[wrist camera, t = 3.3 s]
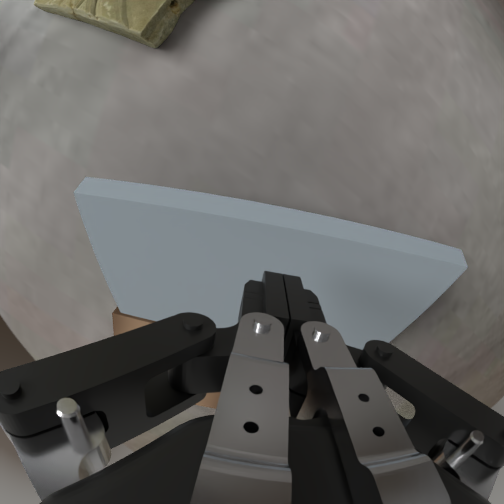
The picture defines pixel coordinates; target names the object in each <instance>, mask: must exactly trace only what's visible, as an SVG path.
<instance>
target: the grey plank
mask: <svg viewBox="0 0 504 504" xmlns="http://www.w3.org/2000/svg"><path fill="white" fill-rule="evenodd" d="M74 196H75V199H76V202H77V205H78V208H79V211H80V214H81V217H82V220H83V223H84V226H85V229H86V231H87V234H88V237H89V240H90V242H91V245H92V248H93V250H94V253H95V255H96V258H97V260H98V263H99V265H100V268H101V270H102V272H103V275H104V277H105V279H106V282H107V284H108V286H109V288H110V291H111V293H112V295H113V297H114V299H115V302H116V304H117V306H118V308H119V310H120V312H121V313H124V314H128V315H132V316H136V317H140V318H144V319H148V320H152V321H159V320H162V319H165V318H168V317H171V316H174V315H176V314H179V313H184V312H193V313H199V314H202V315H205V316H207V317H209V318H210V319H211V320H213V322H214V323H215V324H216V328H226V327H231V326H234V325H236V324H237V323H238V316H239V311H240V305H241V300H242V295H243V290H244V285H245V284H246V283H247V282H248V281H249V280H255V281H261V282H262V277H263V273H264V271H270V272H276V273H281V274H287V275H293V276H298V277H300V278H301V281H302V284H303V288H304V289H308V290H311V291H312V292H313V293H314V294H315V295H316V296H317V297H318V300H319V303H320V306H321V308H322V311H323V314H324V317H325V320H326V323H327V324H329V325H331V326H332V327H334V328H335V329H337V330H338V331H339V333H340V334H341V336H342V338H343V340H344V342H345V344H346V345H348V346H351V347H355V348H358V349H361V350H363V348H364V346H365V344H366V343H367V342H368V341H370V340H381V341H384V342H387V343H389V342H390V341H391V340H393V339H394V338H395V337H396V336H397V335H398V334H400V333H401V332H402V331H403V330H404V329H405V328H407V327H408V326H409V325H410V324H411V323H412V322H413V321H414V320H415V319H417V318H418V317H419V316H420V315H421V314H422V313H423V312H424V311H425V310H426V309H427V308H428V307H430V306H431V305H432V304H433V303H434V302H435V301H436V300H437V299H438V298H439V297H440V296H441V295H442V294H443V293H444V292H445V291H446V290H447V289H448V288H449V287H450V286H451V285H452V284H453V283H454V282H455V281H456V280H457V278H458V277H459V276H460V275H461V274H462V273H463V272H464V271H465V270H466V269H467V268H468V266H467V263H466V261H465V258H464V255H463V253H462V250H461V249H458V248H455V247H451V246H447V245H444V244H440V243H436V242H433V241H429V240H425V239H421V238H418V237H414V236H410V235H406V234H402V233H398V232H394V231H390V230H386V229H382V228H377V227H373V226H369V225H365V224H360V223H356V222H352V221H347V220H343V219H338V218H334V217H329V216H324V215H320V214H315V213H310V212H305V211H301V210H296V209H291V208H286V207H280V206H275V205H270V204H265V203H259V202H254V201H249V200H243V199H237V198H232V197H226V196H220V195H214V194H208V193H202V192H196V191H189V190H183V189H176V188H169V187H163V186H156V185H148V184H141V183H134V182H126V181H118V180H109V179H101V178H92V177H85V179H84V180H83V181H82V182H81V184H80V185H79V186H78V188H77V189H76V190H75V191H74Z"/></svg>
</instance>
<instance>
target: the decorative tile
mask: <svg viewBox="0 0 504 504" xmlns="http://www.w3.org/2000/svg"><path fill="white" fill-rule="evenodd" d="M194 1H195V0H35V2H34V5H35V6H36V7H38V8H40V9H42V10H43V11H46V12H50V13H53V14H58V15H61V16H64V17H68V18H71V19H75V20H78V21H83V22H86V23H89V24H91V25H94V26H97V27H99V28H102V29H104V30H108V31H111V32H114V33H117V34H119V35H122V36H125V37H127V38H129V39H132V40H135V41H137V42H140V43H142V44H145V45H147V46H149V47H152V48H157V47H158V46H159V45H161V44H162V43H163V42H164V40H166V39H167V37H168V36H169V35H170V34H171V32H172V31H173V29H174V27H175V25H176V23H177V21H178V19H179V17H180V15H181V13H182V12H183V11H185V9H186V8H187V7H188V6H190V5H191V4H192V3H193V2H194Z"/></svg>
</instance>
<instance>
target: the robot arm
mask: <svg viewBox="0 0 504 504" xmlns="http://www.w3.org/2000/svg"><path fill="white" fill-rule="evenodd" d="M163 372H164V373H163ZM387 386H388V387H389V388H391V389H392V390H393V391H395V392H396V393H398V394H399V395H401V396H402V397H403V398H405V399H406V400H408V401H409V402H411V403H412V404H413V405H414V407H415V411H416V412H415V416H414V417H413V419H405V418H403V417H402V416H401V415H399V414H398V413H397V412H396V410H395V408H394V406H393V404H392V402H391V400H390V399H389V397H388V395H387V393H386V391H385V389H386V387H387ZM215 392H221V393H220V396H219V400H218V404H217V408H216V412H215V415H208V416H203V417H199V418H195V419H192V420H189V421H187V422H185V423H183V424H181V425H179V426H177V427H175V428H174V429H172V430H171V431H169V432H167V433H166V434H164V435H162V436H161V437H159V438H157V439H156V440H154V441H152V442H151V443H149V444H147V445H146V446H144V447H142V448H141V449H139V450H137V451H135V452H134V453H132V454H130V455H128V456H126V457H125V458H123V459H121V460H119V461H117V462H116V463H114V464H112V465H110V466H108V467H106V468H104V467H105V466H106V465H107V464H108V463H109V461H110V457H111V449H112V448H113V447H116V446H118V445H120V444H122V443H124V442H126V441H128V440H130V439H132V438H134V437H136V436H138V435H140V434H142V433H144V432H146V431H148V430H150V429H152V428H153V427H155V426H157V425H159V424H161V423H163V422H165V421H166V420H168V419H170V418H172V417H174V416H175V415H177V414H179V413H181V412H183V411H184V410H186V409H188V408H189V407H191V406H193V405H195V404H196V403H198V402H200V401H201V400H203V399H204V398H205V396H206V394H207V393H215ZM0 425H1V427H2V428H3V430H4V432H5V433H6V435H7V436H8V438H9V439H10V441H11V442H12V444H13V445H14V447H15V449H16V451H17V453H18V456H19V458H20V460H21V462H22V464H23V467H24V469H25V471H26V473H27V474H28V477H29V479H30V481H31V482H32V485H33V486H34V488H35V490H36V492H37V494H38V496H39V497H40V499H41V501H42V502H41V503H40V504H491V503H490V502H489V501H488V498H489V496H490V494H491V491H492V489H493V486H494V483H495V481H496V478H497V475H498V472H499V470H500V469H501V468H502V467H503V466H504V417H503V416H501V415H500V414H499V413H497V412H495V411H494V410H492V409H491V408H489V407H488V406H486V405H485V404H483V403H481V402H480V401H478V400H477V399H475V398H474V397H472V396H471V395H469V394H467V393H466V392H464V391H463V390H461V389H460V388H458V387H457V386H455V385H453V384H452V383H450V382H449V381H447V380H446V379H444V378H443V377H441V376H439V375H438V374H436V373H435V372H433V371H432V370H430V369H429V368H427V367H425V366H424V365H422V364H421V363H419V362H418V361H416V360H415V359H413V358H411V357H410V356H408V355H407V354H405V353H404V352H402V351H401V350H399V349H398V348H396V347H394V346H393V345H391V344H389V343H387V342H384V341H381V340H370V341H368V342H367V343H366V344H365V346H364V348H363V350H361V349H358V348H355V347H351V346H348V345H346V344H345V342H344V340H343V338H342V336H341V334H340V333H339V331H338V330H337V329H335V328H334V327H332V326H331V325H329V324H327V323H326V320H325V317H324V314H323V311H322V308H321V306H320V303H319V300H318V297H317V296H316V295H315V294H314V293H313V292H312V291H311V290H308V289H304V288H303V284H302V281H301V278H300V277H298V276H293V275H287V274H281V273H276V272H270V271H264V273H263V277H262V282H261V281H255V280H249V281H248V282H247V283H246V284H245V285H244V290H243V295H242V300H241V305H240V311H239V316H238V323H237V324H236V325H234V326H231V327H226V328H216V324H215V323H214V322H213V320H211V319H210V318H209V317H207V316H205V315H202V314H199V313H193V312H184V313H179V314H176V315H174V316H171V317H168V318H165V319H162V320H159V321H156V322H154V323H151V324H148V325H145V326H142V327H139V328H136V329H133V330H130V331H127V332H125V333H122V334H119V335H116V336H113V337H110V338H107V339H104V340H101V341H98V342H94V343H91V344H88V345H85V346H82V347H79V348H76V349H73V350H70V351H66V352H63V353H60V354H57V355H54V356H50V357H47V358H44V359H41V360H37V361H34V362H31V363H27V364H24V365H21V366H17V367H14V368H11V369H7V370H4V371H1V372H0ZM103 468H104V469H103Z"/></svg>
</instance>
